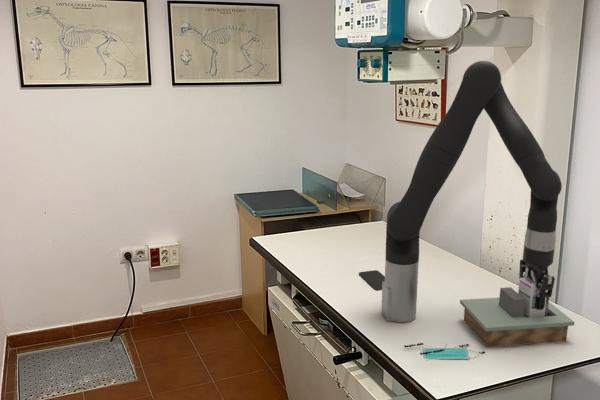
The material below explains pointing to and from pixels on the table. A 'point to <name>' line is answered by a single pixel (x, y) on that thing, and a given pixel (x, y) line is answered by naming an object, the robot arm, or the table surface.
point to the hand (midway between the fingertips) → (532, 303)
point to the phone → (373, 279)
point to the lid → (511, 313)
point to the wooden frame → (516, 334)
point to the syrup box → (531, 298)
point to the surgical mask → (445, 353)
